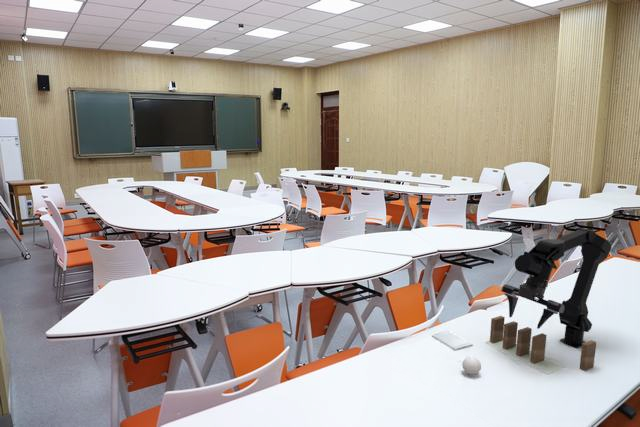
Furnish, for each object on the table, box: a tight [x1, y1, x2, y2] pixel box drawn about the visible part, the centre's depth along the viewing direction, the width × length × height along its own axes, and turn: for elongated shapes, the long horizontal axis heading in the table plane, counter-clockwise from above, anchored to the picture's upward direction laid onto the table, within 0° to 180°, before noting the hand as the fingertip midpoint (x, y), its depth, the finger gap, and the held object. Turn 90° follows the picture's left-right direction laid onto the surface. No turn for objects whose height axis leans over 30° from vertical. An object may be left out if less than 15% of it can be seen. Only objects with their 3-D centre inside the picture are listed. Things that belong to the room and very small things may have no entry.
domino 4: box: [530, 333, 547, 364], centre depth 148 cm, size 2×5×9 cm, turn 119°
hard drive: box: [431, 330, 474, 352], centre depth 164 cm, size 2×8×12 cm
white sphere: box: [459, 355, 482, 376], centre depth 142 cm, size 8×6×6 cm
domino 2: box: [502, 321, 519, 350], centre depth 158 cm, size 2×5×9 cm, turn 119°
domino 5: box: [579, 339, 597, 372], centre depth 144 cm, size 2×5×9 cm, turn 119°
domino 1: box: [489, 315, 505, 344], centre depth 163 cm, size 2×5×9 cm, turn 119°
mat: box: [484, 340, 566, 375], centre depth 154 cm, size 9×25×1 cm, turn 29°
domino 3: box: [516, 326, 533, 357], centre depth 153 cm, size 2×5×9 cm, turn 119°
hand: (523, 322), depth 149 cm, fingers open, 9 cm apart
